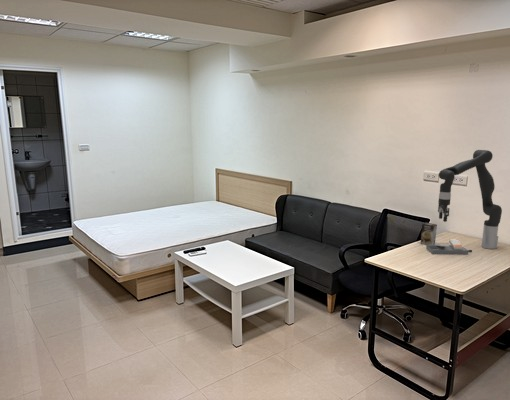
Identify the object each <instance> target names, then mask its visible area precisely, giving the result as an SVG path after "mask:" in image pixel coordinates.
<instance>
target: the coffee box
mask: <svg viewBox="0 0 510 400" xmlns="http://www.w3.org/2000/svg"><path fill="white" fill-rule="evenodd" d="M437 229H438V224H437V223H430V222H423V223H422V225H421V235H420V244H421V245H426V246H427V245H434V244H435V242H436V241H437V240H436V239H437Z"/></svg>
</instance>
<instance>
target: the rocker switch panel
mask: <svg viewBox="0 0 510 400" xmlns="http://www.w3.org/2000/svg"><path fill="white" fill-rule="evenodd" d="M425 248H426V249H425V250H427V251H428V252H429V253H430V252H431V254H432V255H463V256H465V255H466V256H467V255H469V253H472V252H473V250H472V249H468V248H466V247H465V246H463V249H454V248H453V247H452V246H451V244H449V246H437V245H426V247H425Z"/></svg>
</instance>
